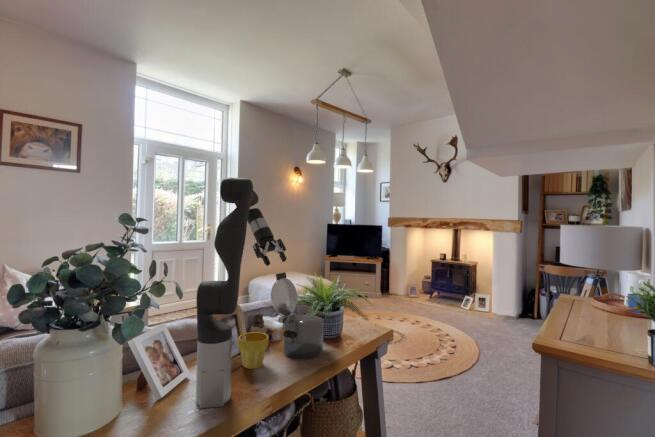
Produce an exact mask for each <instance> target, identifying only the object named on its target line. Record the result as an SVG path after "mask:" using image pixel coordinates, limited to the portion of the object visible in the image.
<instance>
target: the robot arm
mask: <svg viewBox="0 0 655 437" xmlns="http://www.w3.org/2000/svg"><path fill="white" fill-rule="evenodd" d="M219 188H220V190H219V193H220V198H221V200H222V201H223V202H224V203H227V204H234V205H235V208H234V209H232V210H233V211H231V212H230V213H229V214H227V215H226V216H225V217H224V218H223V219H222V220H221V222H220V223H219V224H218V226H217V228H216V233H215V238H214V244H213V245H214V248H215V252H216V253H217V255H218V257H219V258H220V260H221V262H222V263H223V265H224V268H225V270H226V274H227V280H204V281H202V282H200V283H199V284H198V287H197V292H196V331H197V337H196V339H197V344H196V346H197V348H196V349H197V350H196V382H195V383H196V384H195V385H196V386H195V387H196V388H195V389H196V391H195V396H196V397H195V401H196V404H197V405H198V406H199V409H207V408H218V407H224V406H225V404H226V403H227V402H229V401H230V399H231V392H232V391H231V389H232V387H231V385H232V382H231V381H232V347H233V346H232V344H233V343H232V342H233V341H232V340H233V337H232V336H233V329H232V326H231V325H230V324H227V323H225V322H222V321H221V320H218V319H217V318H215V317H214V316H213V315H232V314H233V313H235V311H236V309H237V306H238V303H239V302H238V301H239V291H240V279H241V268H242V260H243V254H244V249H245V245H246V237H247V236H246V235H247V228H248V225H249V226H250V227H249V228H250V230H251V232H252V234H253V237H254V240H255V241H256V242H255V243H254V244H253V245H252V248H253V251H254V254H255V256H256V258H257V259H259V258H260V259H262V260H263V261H262V262H263V263H264V265H266V267H269V265H271V261H270V259H269V256H268V255H267V253H270V252H274V253H277V254H278V256H279V258H280V259H281V262H282V263H284V262H286V261H287V257H286V253H285V252H286V251H287V248H286V246H285V244H284V242H283V240H282V239H281V238H278V239H275V238H274V234H273V232H272V230H271V227H270V226H269V224H268V222H267V220H266V219H265V218H264V215H263V213H262V211H261V209H260V208H257V207H254V206H255V205H257V204H258V202H259V199H260V198H259V196H258V193H256V191H255V190H254V183H253V181H252V180H251V178H246V177H225V178H223V179H222V180H221V183H220V187H219ZM251 207H254V208H251Z"/></svg>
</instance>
